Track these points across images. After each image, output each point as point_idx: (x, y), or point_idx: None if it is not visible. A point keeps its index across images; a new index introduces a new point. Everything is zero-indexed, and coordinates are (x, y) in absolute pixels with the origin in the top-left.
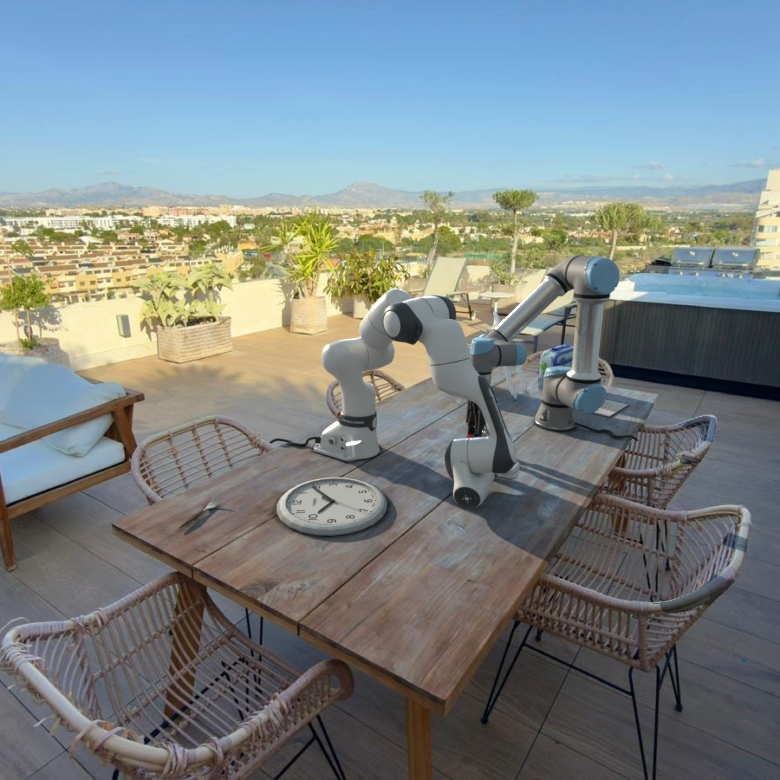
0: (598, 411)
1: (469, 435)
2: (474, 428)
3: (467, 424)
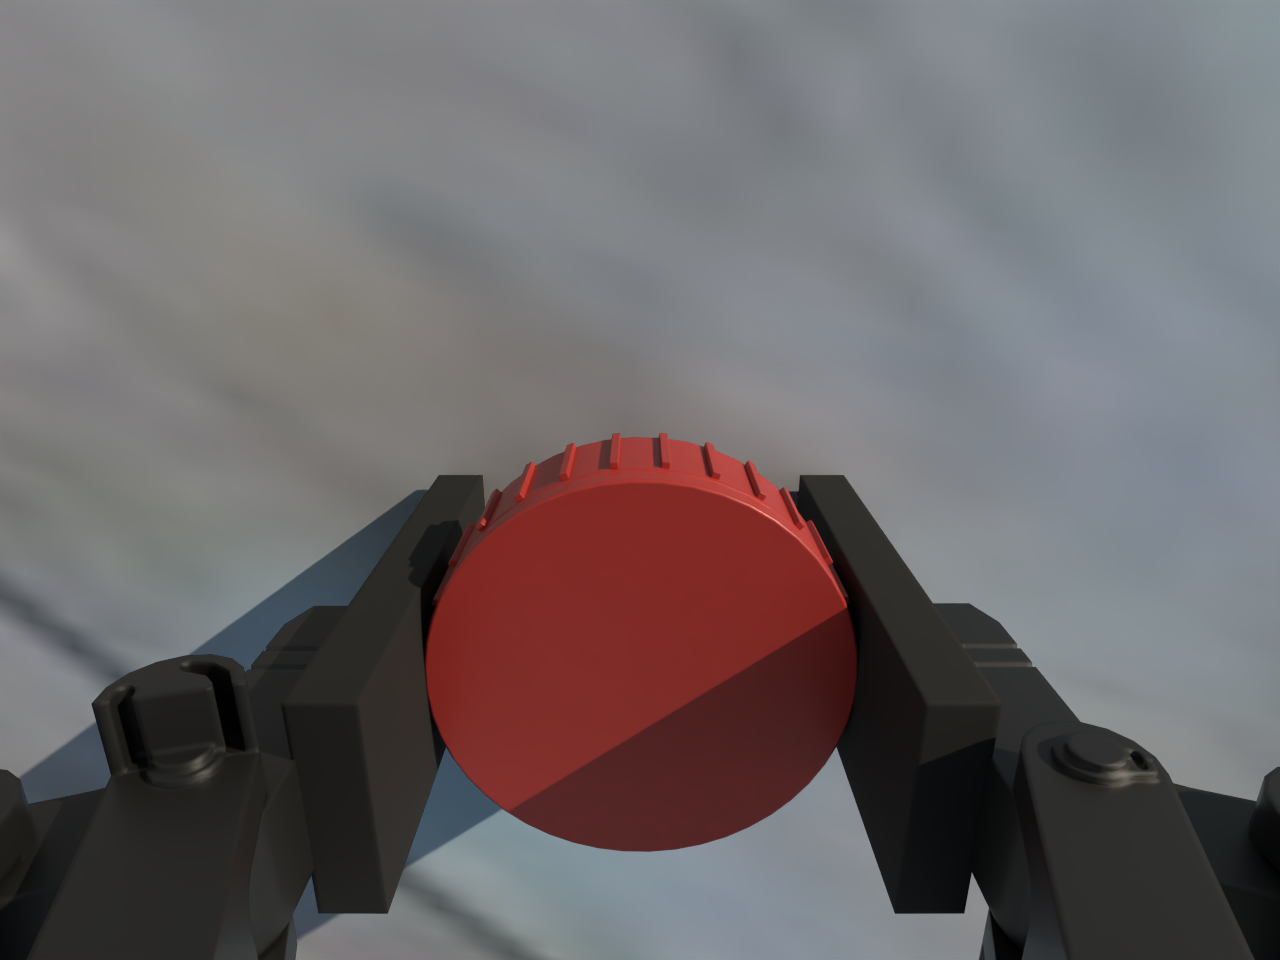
0: None
1: (752, 595)
2: (894, 857)
3: (1121, 757)
